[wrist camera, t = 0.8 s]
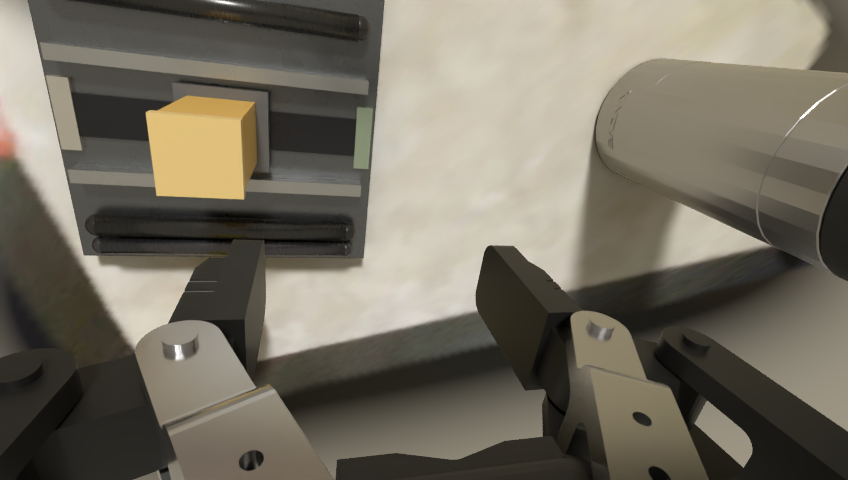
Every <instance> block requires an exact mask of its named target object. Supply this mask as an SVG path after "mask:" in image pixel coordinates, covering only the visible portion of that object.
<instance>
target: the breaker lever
mask: <svg viewBox="0 0 848 480" xmlns="http://www.w3.org/2000/svg"><path fill="white" fill-rule="evenodd" d="M172 88H173V97H174V102H173V103H171V104H169V105H167V106H165V107H163V108H161V109H159V110H157V111H155V110H149V111H147V112H146V120H147V127H148V135H149V142H150V150H151V157H152V165H153V172H154V180H155V187H156V195H157V196H173V197H197V198H220V199H243V200H244V199H245V196H246V187H247V184H248V182H249V180H250V178H251V175H252V173H253V172H270V118H269V91H262V90H253V89H244V88H234V87H225V86H215V85H206V84H196V83H187V82H177V81H176V82H173V83H172Z"/></svg>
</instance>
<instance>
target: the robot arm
mask: <svg viewBox="0 0 848 480" xmlns="http://www.w3.org/2000/svg"><path fill="white" fill-rule="evenodd" d="M596 144H597V149H598V152H599V154H600V156H601V159H602V161H603V162H604V163H605V164H606V165H607V167H608V168H610V169H611V170H613V171H614V172H616V173H617V174H620V175H622V176H624V177H626V178H628V179H630V180H632V181H635V182H637V183H639V184H641V185H643V186H645V187H647V188H649V189H651V190H653V191H655V192H658V193H660V194H662V195H664V196H666V197H668V198H670V199H673V200H675V201H677V202H679V203H681V204H683V205H686V206H688V207H690V208H692V209H694V210H696V211H698V212H701V213H703V214H705V215H707V216H709V217H711V218H713V219H716V220H718V221H720V222H722V223H724V224H726V225H728V226H731V227H733V228H735V229H737V230H739V231H741V232H743V233H746V234H748V235H750V236H752V237H754V238H756V239H758V240H761V241H763V242H765V243H767V244H769V245H771V246H773V247H776V248H778V249H780V250H783V251H785V252H787V253H789V254H791V255H793V256H796V257H798V258H800V259H802V260H804V261H806V262H808V263H811V264H813V265H815V266H817V267H819V268H821V269H823V270H826V271H828V272H830V273H832V274H834V275H836V276H838V277H840V278H842V279H844V280H846V281H848V73H839V72H826V71H813V70H801V69H788V68H775V67H762V66H750V65H737V64H724V63H712V62H702V61H689V60H676V59H654V60H650V61H647V62H644V63H642V64H640V65H638V66H636V67H635V68H633V69H631V70H630V71H628V72H627V73H626V74H625V75H624V76H623V77H622V78H620V79H619V81H618V82H617V83H616V84H615V85H614V87H613V88H612V89H611V90H610V92H609V94H608V95H607V97H606V99H605V101H604V102H603V105H602V107H601V110H600V113H599V115H598V120H597V125H596ZM265 303H266V281H265V244H264V240H233V241H232V244H231V246H230V249H229V252H228V254H227V257H226V258H209V259H208V260H206V261H205V262H203V263H202V264H200V265H199V266H198V267H196V268H195V270H194V272H193V274H192V276H191V278H190V282H188V284H187V286H186V288H185V292H183V294H182V296H181V298H180V300H179V302H178V305H177V307H176V309H175V311H174V313H173V315H172V317H171V319H170V321H169V323H168V324H166V325H163V326H161V327H158V328H156V329H154V330H152V331H151V332H149V333H148V334H146V335H145V336H144V337H143V338H142V339H141V340H140V341H139V342H138V344H137V346H136V349H135V354H133V355H130V356H127V357H124V358H121V359H117V360H113V361H109V362H104V363H100V364H96V365H91V366H87V367H82V368H77V364H76V360H75V358H74V357H73V355H71V354H70V353H68V352H66V351H63V350H59V349H50V348H49V349H33V350H27V351H22V352H18V353H14V354H11V355H8V356H5V357H2V358H0V480H133V479H136V478H138V477H141V476H144V475H147V474H150V473H152V472H155V471H157V474H158V477H159V480H334V479H333V477H332V475H331V474H330V472H329V471H328V469H327V468H326V466H325V465H324V463H323V462H322V460H321V459H320V457H319V456H318V454H317V453H316V451H315V450H314V448H313V447H312V445H311V444H310V442H309V441H308V439H307V438H306V436H305V435H304V433H303V432H302V430H301V429H300V427H299V426H298V424H297V423H296V421H295V420H294V418H293V416H292V415H291V413H290V412H289V410H288V409H287V408H286V406H285V404H284V403H283V401H282V400H281V398H280V397H279V395H278V394H277V392H276V391H275V390H274V388H273V387H272V386H270V385H269V384H265V385H263V386H260V387H257V388H256V387H255V385H254V383H253V381H254V375H255V369H256V363H257V357H258V351H259V345H260V339H261V333H262V327H263V321H264V315H265ZM476 306H477V309H478V312H479V314H480V315H481V317H482V319H483V320H484V322H485V324H486V325H487V327H488V329H489V330H490V332H491V334H492V335H493V337H494V339H495V340H496V342H497V344H498V345H499V347H500V349H501V350H502V352H503V354H504V355H505V357H506V359H507V360H508V362H509V364H510V366H511V367H512V369H513V371H514V372H515V374H516V376H517V377H518V379H519V381H520V382H521V384H522V386H523V387H524V389H525V390H537V389H544V390H545V391H546V394H545V397H544V400H543V403H542V421H543V423H542V424H543V437H538V438H529V439H519V440H510V441H504V442H502V443H499V444H496V445H494V446H491V447H489V448H486V449H484V450H482V451H479V452H477V453H474V454H472V455H469V456H467V457H464V458H462V459H458V460H448V459H439V458H430V457H423V456H415V455H406V454H398V453H395V454H385V455H376V456H367V457H358V458H349V459H340V460H337V468H336V480H848V432H847V431H846V430H845V429H843V428H842V427H840V426H839V425H837V424H836V423H834V422H833V421H831V420H830V419H828V418H827V417H825V416H824V415H822V414H821V413H820V412H818V411H817V410H815V409H814V408H812V407H811V406H809V405H808V404H806V403H805V402H803V401H802V400H801V399H799V398H798V397H796V396H795V395H793V394H792V393H790V392H789V391H787V390H786V389H784V388H783V387H781V386H780V385H778V384H777V383H776V382H774V381H773V380H771V379H770V378H768V377H767V376H766V375H764V374H763V373H761V372H760V371H758V370H757V369H755V368H754V367H752V366H751V365H749V364H748V363H746V362H745V361H743V360H742V359H741V358H739V357H738V356H736V355H735V354H733V353H732V352H730V351H729V350H727V349H726V348H725V347H723V346H722V345H720V344H718V343H717V342H716V341H714V340H713V339H711V338H709V337H707V336H706V335H703V334H702V333H699V332H697V331H694V330H691V329H688V328H684V327H676V326H672V327H667V328H665V329H664V330H663V332H662V334H661V337H660V339H659V341H658V343H655V342H649V341H643V340H638V339H632V337H631V335H630V332H629V331H628V329H627V328H625V326H624V325H622V324H621V323H620V322H618V321H617V320H615V319H613V318H611V317H609V316H607V315H604V314H601V313H597V312H593V311H583V310H582V309H581V308H580V307H579V306H578V305H577V304H576V303H575V302H574V301H573V300H572V299H571V298H570V297H569V296H568V295H567V294H566V293H565V292H564V291H563V290H561V288H560V287H559V286H558V284H557V283H556V282H553V279H552V278H551V277H550V276H549V275H548V274H547V273H546V272H545V271H544V270H542V269H541V268H539V267H537V266H536V265H534V264H532V263H530V262H528V261H527V259H526V258H525V257H524V256H523V255H522V254H521V253H520V252H519V251H518V250H517V249H516V248H515V247H514V246H488V247H487V248H486V250H485V252H484V256H483V261H482V266H481V270H480V275H479V280H478V284H477V289H476ZM707 400H708V401H709V402H710V403H711V404H713V405H714V406H715V407H716V408H717V409H719V410H720V411H721V412H722V413H723V414H725V415H726V416H727V417H728V418H729V419H731V420H732V421H733V422H734V423H736V424H737V425H738V426H739V427H740V428H742V429H743V430H744V431H745V432H746V434H747V435H748V437H749V438H750V440H751V443H752V447H753V452H752V455H751V457H750V459H749V460H748V462H747V464H746V465H745V467H744V468H743V467H742V466H741V465H740V464H738V463H737V462H736V461H735V460H734V459H733V458H732V457H731V456H730V455H728V454H727V453H726V452H725V451H724V450H723V449H722V448H721V447H719V446H718V445H717V444H716V443H715V442H714V441H713V440H712V439H711V438H709V437H708V436H707V435H706V434H705V433H704V432H703V431H702V430H701V429H700V428H698V427H697V426H696V425H695V424H694V423H695V421H696V419H697V418H698V416H699V414H700V412H701V410H702V408H703V406H704V405H705V402H706V401H707Z"/></svg>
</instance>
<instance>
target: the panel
mask: <svg viewBox="0 0 848 480" xmlns="http://www.w3.org/2000/svg"><path fill="white" fill-rule="evenodd" d="M28 3H29V8H30V12H31V17H32V21H33V26H34V30H35V35H36V39H37V44H38V49H39V53H40V58H41V62H42V67H43V71H44V76H45V80H46V85H47V89H48V94H49V99H50V103H51V108H52V112H53V117H54V121H55V126H56V130H57V135H58V140H59V144H60V149H61V153H62V158H63V162H64V167H65V171H66V176H67V181H68V185H69V190H70V194H71V199H72V203H73V208H74V212H75V217H76V222H77V226H78V231H79V235H80V240H81V244H82V249H83V253H84V255H101V256H195V257H227V254H228V252H229V249H230V246H231V244H232V241H233V240H264V244H265V257H289V258H363V257H364V244H365V232H366V220H367V207H368V195H369V183H370V170H371V158H372V146H373V134H374V121H375V109H376V97H377V84H378V72H379V60H380V47H381V35H382V23H383V11H384V0H28ZM176 81H177V82H187V83H196V84H206V85H215V86H225V87H234V88H244V89H253V90H262V91H269V118H270V172H253V173H252V175H251V178H250V180H249V182H248V184H247V187H246V196H245V199H244V200H243V199H220V198H197V197H173V196H157V195H156V187H155V180H154V172H153V165H152V157H151V150H150V142H149V135H148V127H147V120H146V112H147V111H149V110H155V111H157V110H159V109H161V108H163V107H165V106H167V105H169V104H171V103H173V102H174V97H173V88H172V83H173V82H176Z"/></svg>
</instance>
